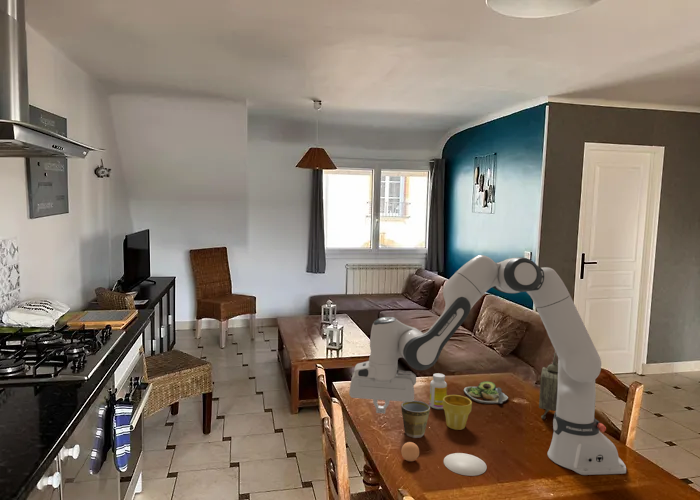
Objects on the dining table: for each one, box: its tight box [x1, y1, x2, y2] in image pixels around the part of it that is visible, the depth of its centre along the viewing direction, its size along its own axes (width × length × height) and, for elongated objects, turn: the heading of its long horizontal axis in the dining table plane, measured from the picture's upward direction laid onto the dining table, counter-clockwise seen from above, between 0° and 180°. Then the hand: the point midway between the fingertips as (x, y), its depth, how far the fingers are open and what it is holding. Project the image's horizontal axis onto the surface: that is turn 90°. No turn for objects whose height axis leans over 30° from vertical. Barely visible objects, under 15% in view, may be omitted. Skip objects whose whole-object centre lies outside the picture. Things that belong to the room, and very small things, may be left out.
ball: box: [400, 441, 420, 462], centre depth 150 cm, size 6×6×6 cm
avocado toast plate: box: [463, 380, 509, 405], centre depth 204 cm, size 19×18×5 cm
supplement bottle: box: [428, 372, 448, 410], centre depth 192 cm, size 7×7×13 cm
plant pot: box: [442, 394, 473, 431], centre depth 175 cm, size 10×10×10 cm
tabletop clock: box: [538, 352, 558, 420], centre depth 186 cm, size 14×9×25 cm, turn 155°
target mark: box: [443, 452, 488, 477], centre depth 148 cm, size 13×13×1 cm
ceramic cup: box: [400, 400, 431, 439], centre depth 169 cm, size 13×10×10 cm
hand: (380, 412), depth 149 cm, fingers closed
